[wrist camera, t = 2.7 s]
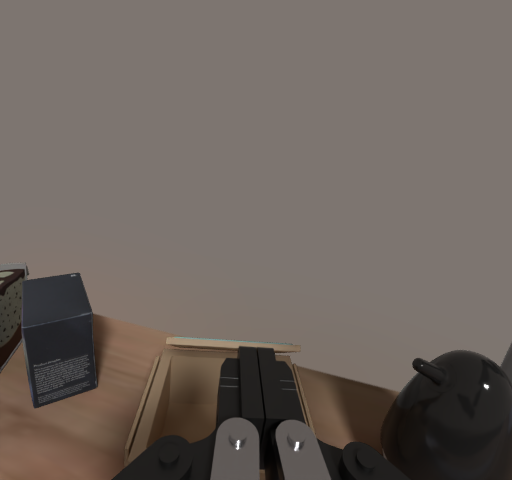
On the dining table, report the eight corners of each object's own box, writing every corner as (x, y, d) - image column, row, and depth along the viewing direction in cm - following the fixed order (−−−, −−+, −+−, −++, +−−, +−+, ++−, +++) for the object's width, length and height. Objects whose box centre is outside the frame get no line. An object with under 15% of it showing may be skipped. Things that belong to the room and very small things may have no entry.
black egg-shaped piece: (355, 432, 34) (392, 316, 29) (444, 441, 34) (494, 328, 30) (395, 548, 24) (458, 403, 19) (518, 559, 25) (610, 419, 20)
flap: (277, 347, 34) (300, 344, 25) (277, 353, 34) (300, 351, 25) (178, 341, 33) (167, 335, 24) (178, 347, 32) (166, 343, 24)
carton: (284, 403, 36) (294, 356, 34) (309, 531, 24) (327, 471, 22) (157, 398, 35) (158, 348, 32) (117, 533, 23) (116, 469, 21)
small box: (28, 350, 39) (19, 278, 36) (85, 337, 43) (81, 270, 40) (29, 411, 31) (17, 326, 28) (99, 388, 35) (95, 310, 32)
